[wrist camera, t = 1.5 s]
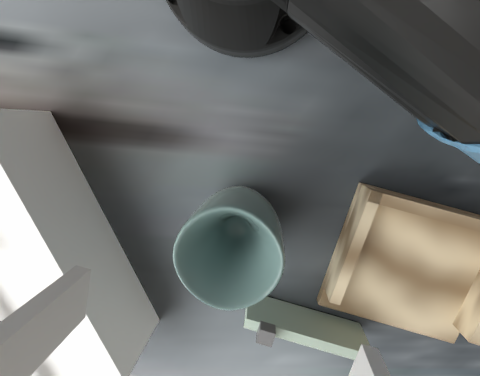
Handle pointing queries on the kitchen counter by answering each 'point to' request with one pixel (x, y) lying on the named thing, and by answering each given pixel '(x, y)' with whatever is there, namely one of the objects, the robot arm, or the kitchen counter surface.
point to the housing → (407, 265)
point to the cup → (231, 249)
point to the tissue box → (65, 249)
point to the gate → (304, 327)
